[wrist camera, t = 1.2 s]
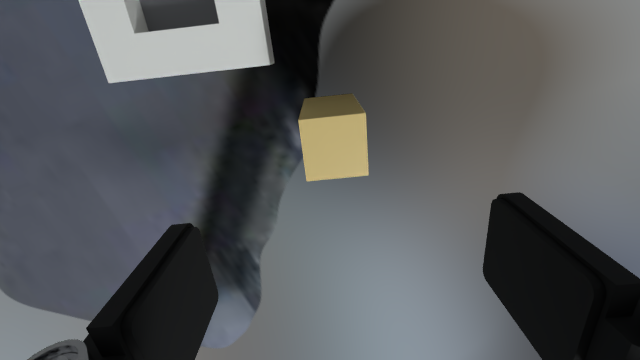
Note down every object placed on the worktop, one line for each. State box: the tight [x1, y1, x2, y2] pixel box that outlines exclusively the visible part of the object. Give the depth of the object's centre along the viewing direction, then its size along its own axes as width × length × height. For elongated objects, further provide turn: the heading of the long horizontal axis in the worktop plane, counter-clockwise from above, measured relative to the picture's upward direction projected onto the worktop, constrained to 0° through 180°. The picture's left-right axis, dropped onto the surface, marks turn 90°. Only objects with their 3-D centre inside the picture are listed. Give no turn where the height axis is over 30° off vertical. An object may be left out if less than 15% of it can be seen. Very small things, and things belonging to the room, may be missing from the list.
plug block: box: [298, 93, 369, 181], centre depth 23 cm, size 4×4×8 cm
